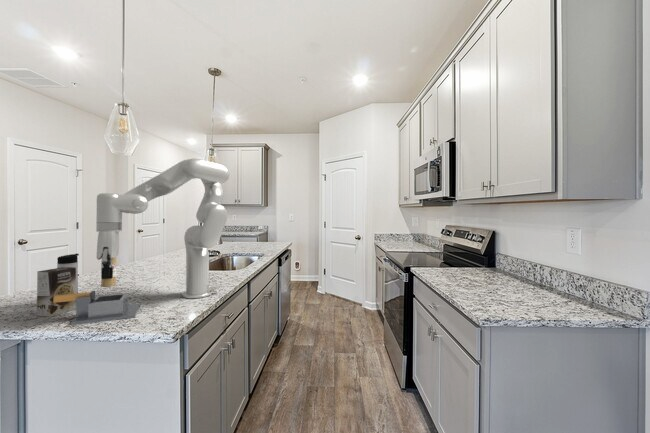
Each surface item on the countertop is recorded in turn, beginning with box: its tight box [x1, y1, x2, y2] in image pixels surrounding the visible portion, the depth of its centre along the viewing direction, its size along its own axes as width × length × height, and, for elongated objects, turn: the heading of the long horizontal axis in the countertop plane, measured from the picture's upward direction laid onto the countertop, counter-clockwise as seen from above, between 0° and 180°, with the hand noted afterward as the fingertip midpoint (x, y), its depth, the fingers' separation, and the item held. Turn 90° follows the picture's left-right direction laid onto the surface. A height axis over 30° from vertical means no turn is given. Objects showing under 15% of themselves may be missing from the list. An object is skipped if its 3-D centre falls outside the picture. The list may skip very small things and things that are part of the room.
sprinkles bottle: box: [100, 254, 117, 288], centre depth 106 cm, size 5×5×14 cm
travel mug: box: [56, 253, 80, 294], centre depth 118 cm, size 6×7×20 cm
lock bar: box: [54, 290, 96, 303], centre depth 103 cm, size 11×3×3 cm, turn 115°
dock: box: [70, 292, 142, 326], centre depth 107 cm, size 18×14×8 cm
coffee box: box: [36, 267, 76, 318], centre depth 108 cm, size 9×6×16 cm
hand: (108, 276), depth 107 cm, fingers closed on sprinkles bottle, 4 cm apart
